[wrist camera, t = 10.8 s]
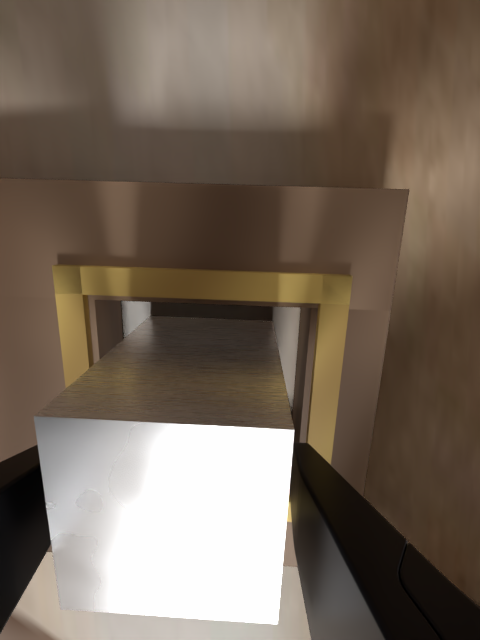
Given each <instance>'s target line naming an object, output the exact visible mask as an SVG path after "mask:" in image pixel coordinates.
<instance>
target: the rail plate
mask: <svg viewBox="0 0 480 640" xmlns="http://www.w3.org/2000/svg"><path fill="white" fill-rule="evenodd" d="M408 195H409V189H375V188H339V187H302V186H266V185H230V184H194V183H158V182H122V181H85V180H49V179H13V178H0V462H1V461H3V460H6V459H8V458H10V457H12V456H14V455H16V454H18V453H20V452H23V451H25V450H27V449H29V448H31V447H33V446H35V445H38V444H37V437H36V430H35V422H34V416H35V415H36V414H37V413H38V412H39V411H40V410H42V409H43V408H44V407H45V406H46V405H47V404H49V403H50V402H51V401H52V400H53V399H54V398H56V397H57V396H58V395H59V394H60V393H61V392H62V391H64V390H65V389H66V388H67V387H68V386H69V385H71V384H72V383H73V382H74V381H75V380H76V379H78V378H79V377H80V376H81V375H82V374H83V373H85V372H86V371H87V370H88V369H89V368H90V367H92V366H93V365H94V364H95V363H96V362H97V361H99V360H100V359H101V358H102V357H103V356H104V355H106V354H107V353H108V352H109V351H110V350H111V349H113V348H114V347H115V346H116V345H117V344H118V343H120V342H121V341H122V340H123V329H122V313H121V301H145V302H171V303H198V304H224V305H250V306H277V307H301V313H300V326H299V338H298V351H297V364H296V376H295V389H294V402H293V414H292V420H293V425H294V441H293V442H301V443H308V444H310V445H311V446H312V447H313V448H314V449H315V450H316V451H317V452H318V453H319V454H320V455H321V456H322V457H323V458H324V459H325V460H326V461H327V462H328V463H329V464H330V465H331V466H332V467H333V468H334V469H335V470H336V471H337V472H338V473H339V474H340V475H341V476H342V477H343V478H344V479H345V480H346V481H347V482H348V483H350V484H351V485H352V486H353V487H354V488H355V489H356V490H357V491H358V492H359V493H360V494H361V495H362V496H363V495H364V488H365V482H366V475H367V468H368V462H369V455H370V448H371V442H372V435H373V428H374V422H375V415H376V408H377V402H378V395H379V388H380V382H381V375H382V368H383V362H384V355H385V348H386V342H387V335H388V328H389V322H390V315H391V308H392V302H393V295H394V288H395V282H396V275H397V268H398V262H399V255H400V248H401V242H402V235H403V228H404V222H405V215H406V208H407V202H408ZM47 552H52V545H50V547H49V549H48V551H47ZM283 566H292V567H298V566H297V560H296V555H295V549H294V542H293V532H292V518H291V504H290V490H289V498H288V510H287V521H286V533H285V544H284V556H283Z"/></svg>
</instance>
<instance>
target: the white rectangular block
mask: <svg viewBox="0 0 480 640" xmlns="http://www.w3.org/2000/svg"><path fill="white" fill-rule="evenodd" d="M34 422H35V430H36V437H37V444H38V451H39V458H40V466H41V473H42V480H43V487H44V495H45V502H46V509H47V516H48V523H49V531H50V538H51V545H52V552H53V560H54V567H55V574H56V581H57V588H58V596H59V603H60V609H63V610H78V611H92V612H107V613H122V614H136V615H151V616H166V617H180V618H195V619H209V620H224V621H239V622H253V623H268V624H278V613H279V602H280V590H281V579H282V567H283V556H284V544H285V533H286V521H287V510H288V498H289V487H290V475H291V464H292V452H293V441H294V425H293V420H292V415H291V410H290V405H289V401H288V396H287V391H286V386H285V381H284V376H283V371H282V366H281V361H280V356H279V351H278V346H277V341H276V336H275V331H274V326H273V321H257V320H234V319H211V318H189V317H166V316H150V317H149V318H147V319H146V320H145V321H144V322H143V323H142V324H140V325H139V326H138V327H137V328H136V329H135V330H133V331H132V332H131V333H130V334H129V335H128V336H127V337H125V338H124V339H123V340H122V341H121V342H120V343H118V344H117V345H116V346H115V347H114V348H113V349H111V350H110V351H109V352H108V353H107V354H106V355H104V356H103V357H102V358H101V359H100V360H99V361H97V362H96V363H95V364H94V365H93V366H92V367H90V368H89V369H88V370H87V371H86V372H85V373H83V374H82V375H81V376H80V377H79V378H78V379H76V380H75V381H74V382H73V383H72V384H71V385H69V386H68V387H67V388H66V389H65V390H64V391H62V392H61V393H60V394H59V395H58V396H57V397H56V398H54V399H53V400H52V401H51V402H50V403H49V404H47V405H46V406H45V407H44V408H43V409H42V410H40V411H39V412H38V413H37V414H36V415H35V416H34Z"/></svg>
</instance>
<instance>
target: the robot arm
mask: <svg viewBox="0 0 480 640" xmlns="http://www.w3.org/2000/svg"><path fill="white" fill-rule="evenodd" d="M289 490H290V504H291V518H292V532H293V542H294V549H295V555H296V560H297V566H298V571H299V576H300V582H301V587H302V592H303V598H304V603H305V608H306V614H307V619H308V624H309V630H310V635H311V640H480V607H479V606H478V605H476V604H475V603H474V602H473V601H472V600H471V599H470V598H468V597H467V596H466V595H465V594H464V593H463V592H462V591H460V590H459V589H458V588H457V587H456V586H455V585H454V584H452V583H451V582H450V581H449V580H448V579H447V578H446V577H445V576H444V575H443V574H442V573H441V572H440V571H439V570H438V569H436V568H435V567H434V566H433V565H432V564H431V563H430V562H429V561H428V560H427V559H426V558H425V557H424V556H423V555H422V554H421V553H420V552H419V551H418V550H417V549H416V548H415V547H414V546H413V545H412V544H410V543H408V541H407V540H406V539H405V538H404V537H403V536H402V535H401V534H400V533H399V532H398V531H397V530H396V529H395V528H394V527H393V526H392V525H391V524H390V523H389V522H388V521H387V520H386V519H385V518H384V517H383V516H382V515H381V514H380V513H379V512H378V511H377V510H376V509H375V508H374V507H373V506H372V505H371V504H370V503H369V502H368V501H367V500H366V499H365V498H364V497H363V496H362V495H361V494H360V493H359V492H358V491H357V490H356V489H355V488H354V487H353V486H352V485H351V484H350V483H348V482H347V481H346V480H345V479H344V478H343V477H342V476H341V475H340V474H339V473H338V472H337V471H336V470H335V469H334V468H333V467H332V466H331V465H330V464H329V463H328V462H327V461H326V460H325V459H324V458H323V457H322V456H321V455H320V454H319V453H318V452H317V451H316V450H315V449H314V448H313V447H312V446H311V445H310V444H308V443H301V442H293V452H292V464H291V475H290V487H289ZM407 543H408V544H407ZM50 545H51V538H50V531H49V523H48V516H47V509H46V502H45V495H44V487H43V480H42V473H41V466H40V458H39V451H38V445H35V446H33V447H31V448H29V449H27V450H25V451H23V452H20V453H18V454H16V455H14V456H12V457H10V458H8V459H6V460H3V461H1V462H0V633H1V632H2V630H3V628H4V626H5V625H6V623H7V621H8V619H9V617H10V616H11V614H12V612H13V610H14V609H15V607H16V605H17V603H18V602H19V600H20V598H21V596H22V595H23V593H24V591H25V589H26V588H27V586H28V584H29V582H30V581H31V579H32V577H33V575H34V573H35V572H36V570H37V568H38V566H39V565H40V563H41V561H42V559H43V558H44V556H45V554H46V552H47V551H48V549H49V547H50Z"/></svg>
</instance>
